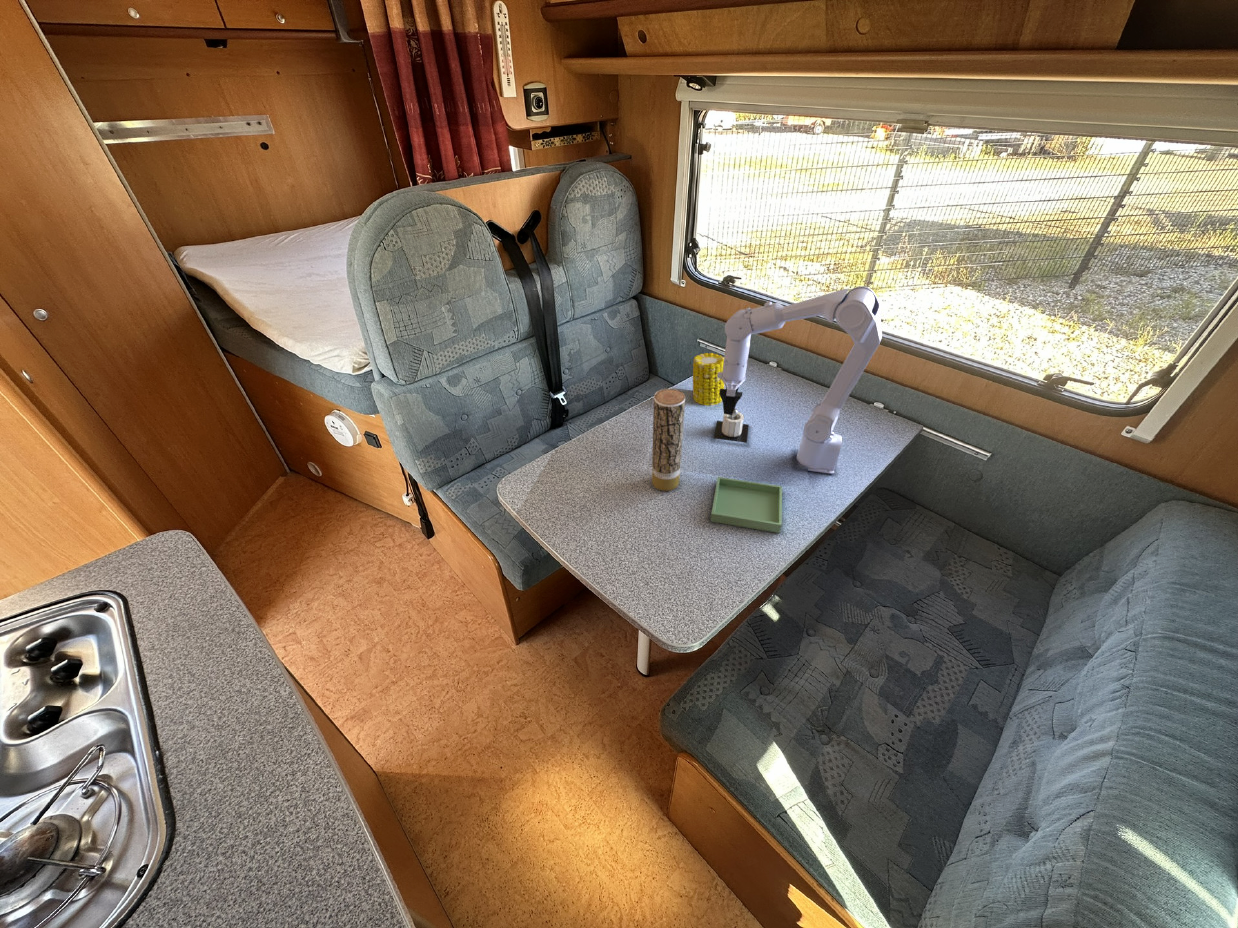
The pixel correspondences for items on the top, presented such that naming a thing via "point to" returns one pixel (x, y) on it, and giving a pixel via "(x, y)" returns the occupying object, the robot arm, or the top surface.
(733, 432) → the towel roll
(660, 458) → the bark log
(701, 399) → the food
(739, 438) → the stand
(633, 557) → the top surface
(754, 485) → the tray
